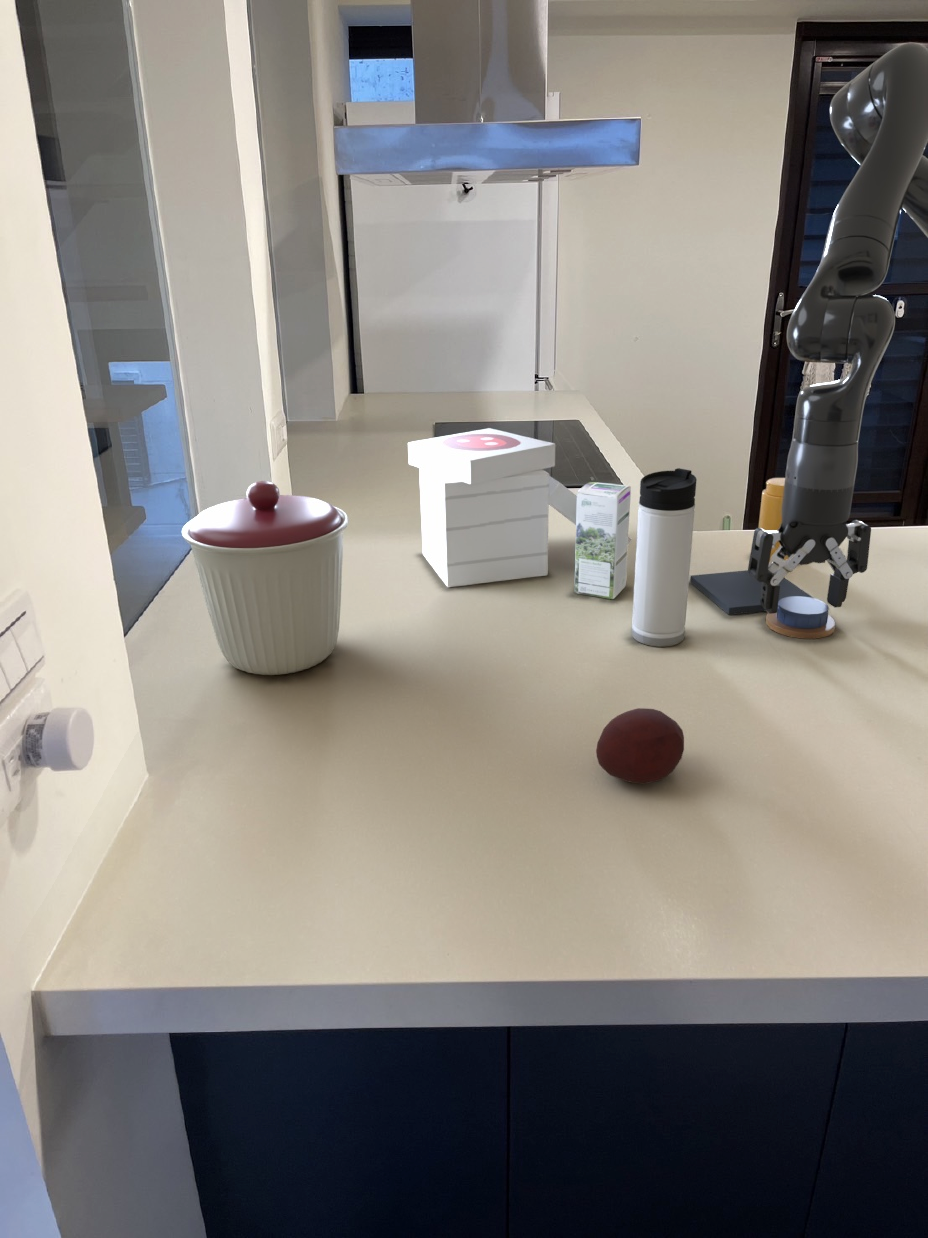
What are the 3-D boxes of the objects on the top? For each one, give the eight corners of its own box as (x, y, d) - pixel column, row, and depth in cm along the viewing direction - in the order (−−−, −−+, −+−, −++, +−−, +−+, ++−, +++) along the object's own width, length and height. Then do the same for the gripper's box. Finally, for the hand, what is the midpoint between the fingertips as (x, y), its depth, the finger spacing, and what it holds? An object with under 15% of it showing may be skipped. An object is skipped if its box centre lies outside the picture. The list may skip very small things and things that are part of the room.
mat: (769, 574, 128) (770, 567, 127) (815, 606, 117) (816, 599, 117) (689, 582, 126) (690, 575, 126) (728, 615, 115) (729, 607, 115)
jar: (782, 550, 137) (792, 475, 132) (802, 563, 132) (812, 485, 127) (748, 553, 136) (756, 478, 131) (766, 566, 131) (775, 488, 126)
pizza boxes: (636, 568, 131) (643, 445, 124) (436, 594, 124) (431, 464, 117) (584, 530, 148) (588, 419, 141) (405, 550, 141) (400, 434, 134)
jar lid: (791, 631, 108) (793, 616, 108) (767, 612, 114) (769, 598, 113) (836, 626, 109) (838, 611, 108) (810, 608, 114) (812, 594, 114)
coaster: (812, 610, 116) (813, 604, 116) (847, 635, 109) (848, 629, 108) (754, 615, 115) (754, 610, 114) (786, 641, 107) (787, 635, 107)
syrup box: (627, 586, 125) (632, 483, 119) (613, 601, 120) (618, 495, 114) (588, 580, 127) (591, 479, 122) (572, 594, 123) (575, 490, 117)
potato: (702, 786, 80) (708, 727, 78) (619, 806, 78) (622, 746, 75) (658, 745, 87) (662, 690, 84) (581, 763, 84) (582, 706, 82)
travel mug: (696, 635, 110) (709, 473, 102) (664, 652, 106) (676, 484, 98) (652, 621, 114) (662, 464, 106) (621, 637, 110) (629, 475, 102)
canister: (330, 697, 97) (313, 508, 89) (174, 686, 100) (143, 502, 92) (376, 629, 113) (365, 463, 105) (240, 622, 117) (219, 460, 108)
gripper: (778, 491, 100) (762, 625, 106) (895, 482, 102) (873, 614, 109) (746, 474, 107) (733, 602, 113) (857, 466, 109) (838, 591, 115)
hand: (802, 608), depth 111 cm, fingers open, 8 cm apart
